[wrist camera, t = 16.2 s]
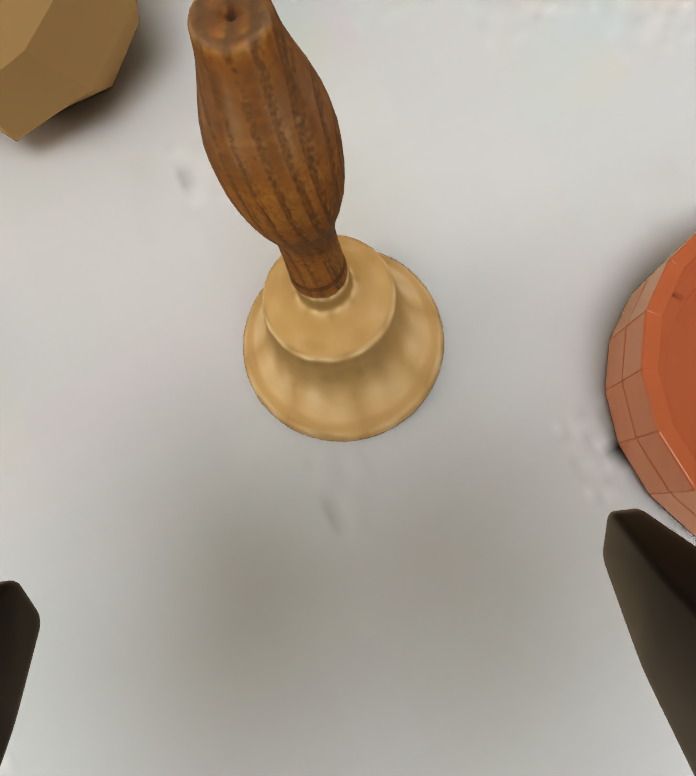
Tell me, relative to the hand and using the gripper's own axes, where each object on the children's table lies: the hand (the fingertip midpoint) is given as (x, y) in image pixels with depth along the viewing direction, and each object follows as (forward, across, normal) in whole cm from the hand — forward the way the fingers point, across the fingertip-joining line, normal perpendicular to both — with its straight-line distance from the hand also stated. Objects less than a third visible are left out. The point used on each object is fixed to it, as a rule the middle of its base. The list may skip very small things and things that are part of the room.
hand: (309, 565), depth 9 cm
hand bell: (+15, 0, +4) cm, 16 cm away
